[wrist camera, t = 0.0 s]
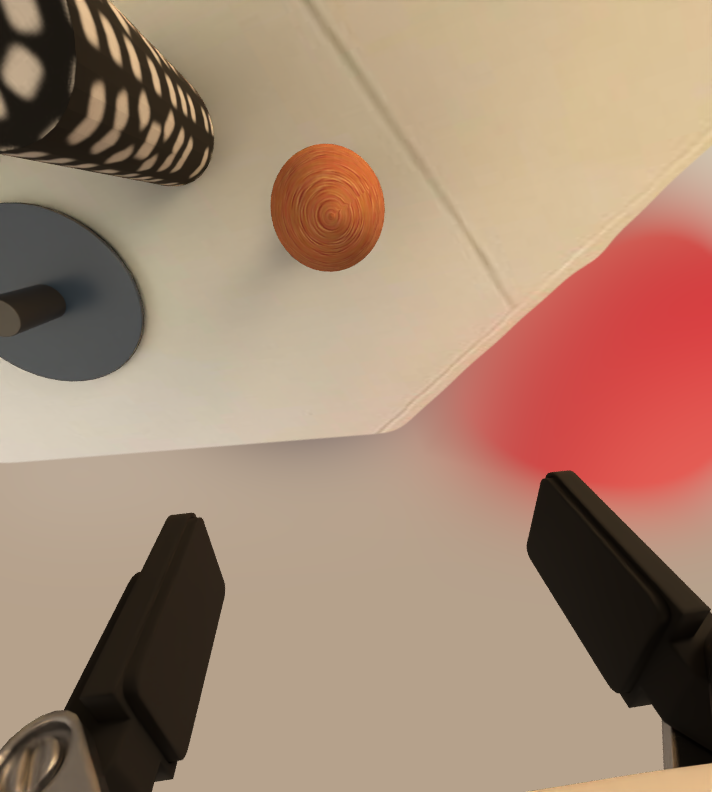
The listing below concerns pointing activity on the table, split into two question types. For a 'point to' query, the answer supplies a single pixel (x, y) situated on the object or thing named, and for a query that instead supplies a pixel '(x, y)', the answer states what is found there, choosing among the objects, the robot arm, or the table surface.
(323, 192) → the mushroom
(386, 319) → the table surface
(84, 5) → the spotted tube
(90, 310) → the lid
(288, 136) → the table surface
